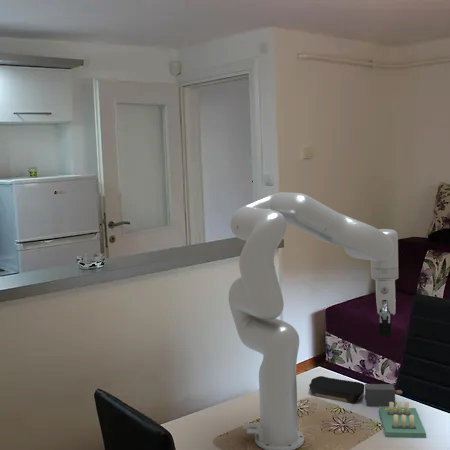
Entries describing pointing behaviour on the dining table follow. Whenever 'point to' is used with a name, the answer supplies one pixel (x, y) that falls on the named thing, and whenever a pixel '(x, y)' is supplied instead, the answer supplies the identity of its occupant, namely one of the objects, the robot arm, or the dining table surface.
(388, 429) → the header board
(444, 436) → the dining table surface
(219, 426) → the dining table surface
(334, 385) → the black sponge
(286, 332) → the robot arm
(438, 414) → the dining table surface
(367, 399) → the plug housing
